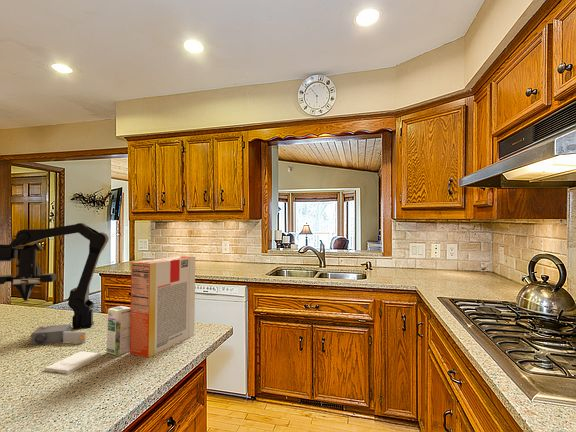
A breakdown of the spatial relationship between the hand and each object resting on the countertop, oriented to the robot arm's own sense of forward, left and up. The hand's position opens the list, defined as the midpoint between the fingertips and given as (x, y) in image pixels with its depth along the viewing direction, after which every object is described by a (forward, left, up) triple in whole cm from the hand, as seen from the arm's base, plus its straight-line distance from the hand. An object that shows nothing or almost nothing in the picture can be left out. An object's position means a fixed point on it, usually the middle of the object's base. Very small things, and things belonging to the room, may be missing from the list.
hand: (25, 300), depth 129 cm
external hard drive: (-26, +40, -13) cm, 49 cm away
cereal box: (-52, +31, -12) cm, 62 cm away
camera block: (-13, +14, -12) cm, 23 cm away
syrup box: (-38, +34, -12) cm, 52 cm away
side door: (-21, +20, -12) cm, 31 cm away
